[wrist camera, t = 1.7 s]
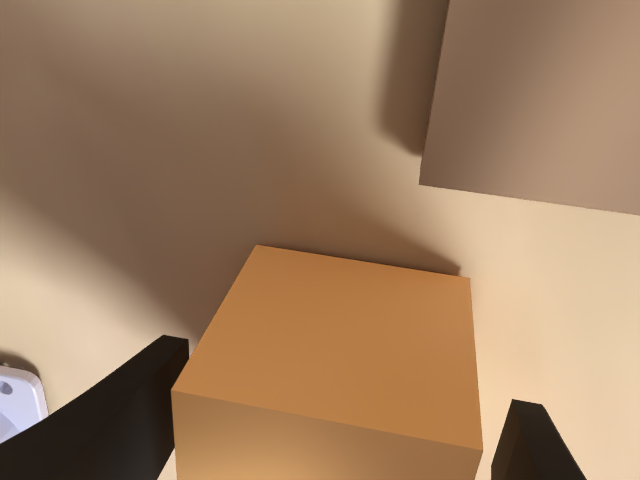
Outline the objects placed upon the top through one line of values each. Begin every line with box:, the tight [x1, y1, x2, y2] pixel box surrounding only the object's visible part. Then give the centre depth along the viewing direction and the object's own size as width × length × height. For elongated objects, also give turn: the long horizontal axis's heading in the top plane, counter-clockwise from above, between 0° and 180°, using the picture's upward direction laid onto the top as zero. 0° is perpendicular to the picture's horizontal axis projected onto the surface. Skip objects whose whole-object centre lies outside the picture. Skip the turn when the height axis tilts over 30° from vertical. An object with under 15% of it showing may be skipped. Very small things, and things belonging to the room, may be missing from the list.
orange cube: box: [171, 245, 483, 480], centre depth 13 cm, size 5×5×5 cm
